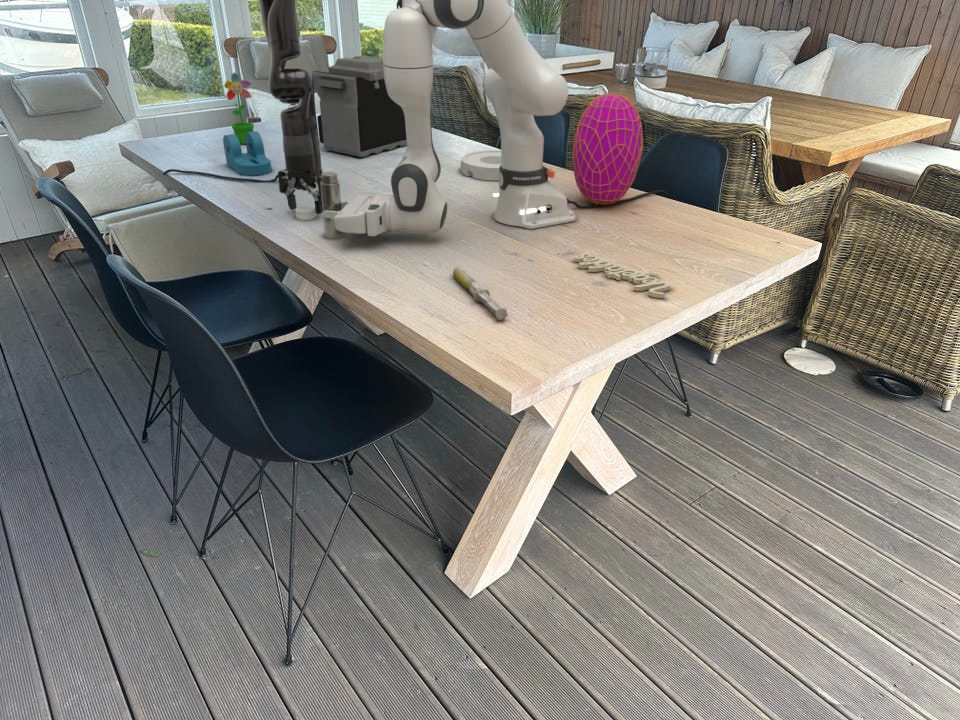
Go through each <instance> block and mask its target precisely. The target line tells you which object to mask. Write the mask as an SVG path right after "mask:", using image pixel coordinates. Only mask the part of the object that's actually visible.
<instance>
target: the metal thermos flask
mask: <svg viewBox="0 0 960 720" xmlns="http://www.w3.org/2000/svg"><path fill="white" fill-rule="evenodd" d="M321 179H322V181H321V182H320V187H321V197H322V208H323V211H322V217H323V227H324V236H325V238H327V239H332V240H333V239H340V238H342V237H344V235H345V232H341V231H338V230H337V229H336V227H335V220H333V219H331V218H325V217H324V211H325V210H326V209H328V210H329V209H331V210H332V211H336V212H337V211H341V210H342V208H341V202H342V197H341V185H340V180H338V173H337V172H335V171H323V173H321Z"/></svg>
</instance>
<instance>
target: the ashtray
mask: <svg viewBox="0 0 960 720" xmlns="http://www.w3.org/2000/svg"><path fill="white" fill-rule="evenodd" d="M500 165H501V149H500V150H499V149H494V150H493V149H491V150H490V149H489V150H477V151H472V152H468V153H464V155H462V156H461V157H460V171H461V173H462V174H463V175H464V176H466V177H472V179H477V180H483V181H495V182H497V181H498V182H499V180H498V179H499V166H500Z"/></svg>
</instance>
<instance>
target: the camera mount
mask: <svg viewBox="0 0 960 720" xmlns="http://www.w3.org/2000/svg"><path fill="white" fill-rule="evenodd" d="M245 139H246V144H245V146H246V152H243V151H242V150H243V149H242V145H241V144H240V142H239V140H238V138H237V136H236V135H235V134H234V133H231V134H224V135H223V138H222V140H223V141H222V143H223V149H224V150H223V151H224V156H225V161H226V165H227V166H228V167H230V168H231V169H232V170H234V171H236V172H237V173H238V174H239V175H244V176H260V175H265V174H268V173H271V172H272V164H271V159H270V158H268V157H267V156H266V153H265V145H264V141H263V139H262V136H261V134H260V132H258V131H253V132H247V133H246V137H245Z"/></svg>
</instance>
